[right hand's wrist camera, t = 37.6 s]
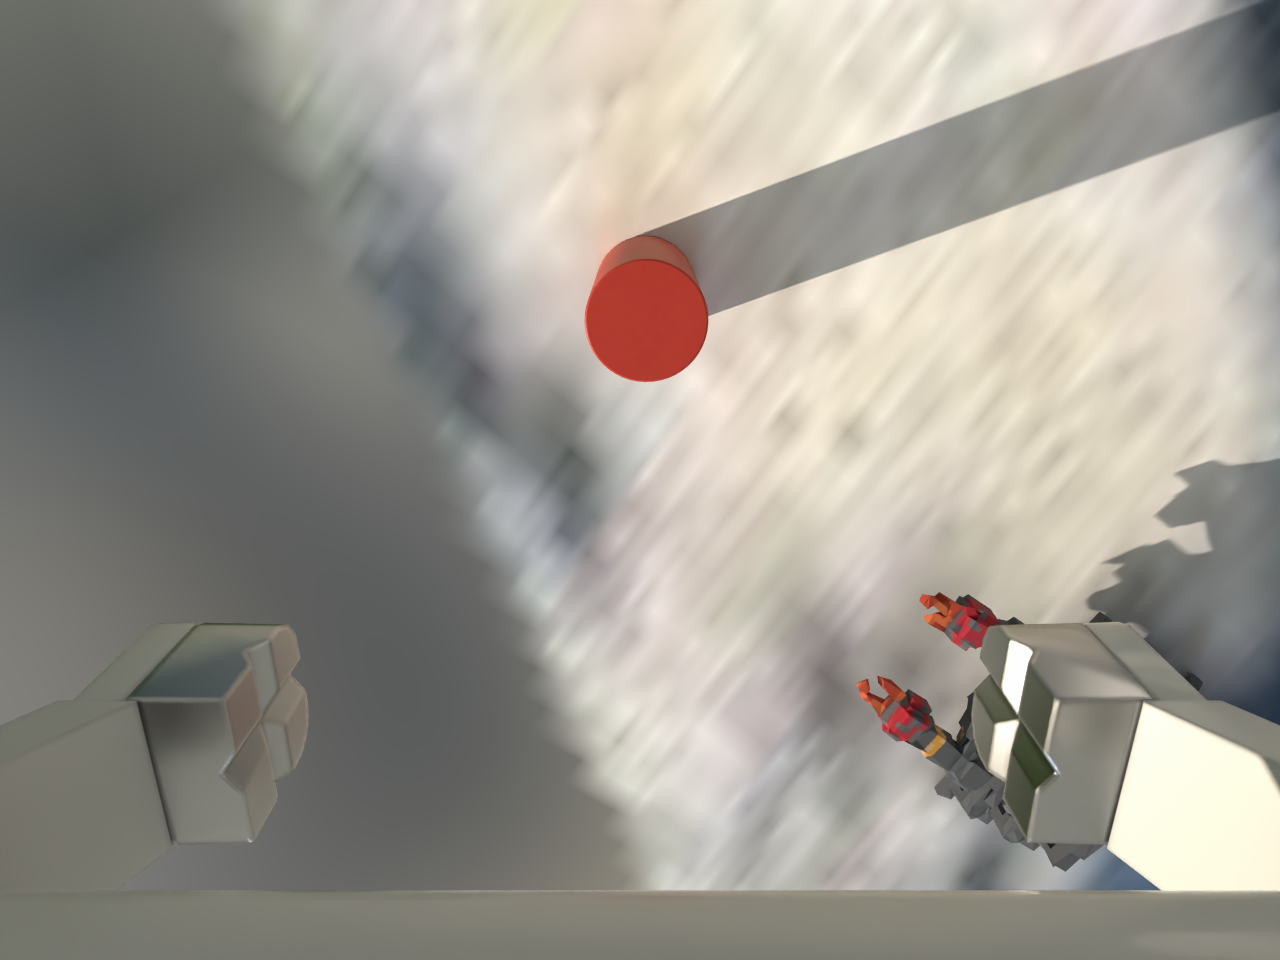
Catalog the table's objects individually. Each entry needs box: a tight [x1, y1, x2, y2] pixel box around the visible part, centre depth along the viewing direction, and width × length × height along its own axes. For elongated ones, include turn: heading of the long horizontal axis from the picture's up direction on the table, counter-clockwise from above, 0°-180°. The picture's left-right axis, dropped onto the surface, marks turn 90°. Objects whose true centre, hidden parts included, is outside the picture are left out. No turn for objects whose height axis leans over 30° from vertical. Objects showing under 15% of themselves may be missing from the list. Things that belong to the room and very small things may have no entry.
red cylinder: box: [585, 236, 708, 382], centre depth 35 cm, size 4×4×8 cm
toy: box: [856, 592, 1203, 872], centre depth 39 cm, size 13×27×18 cm, turn 56°
